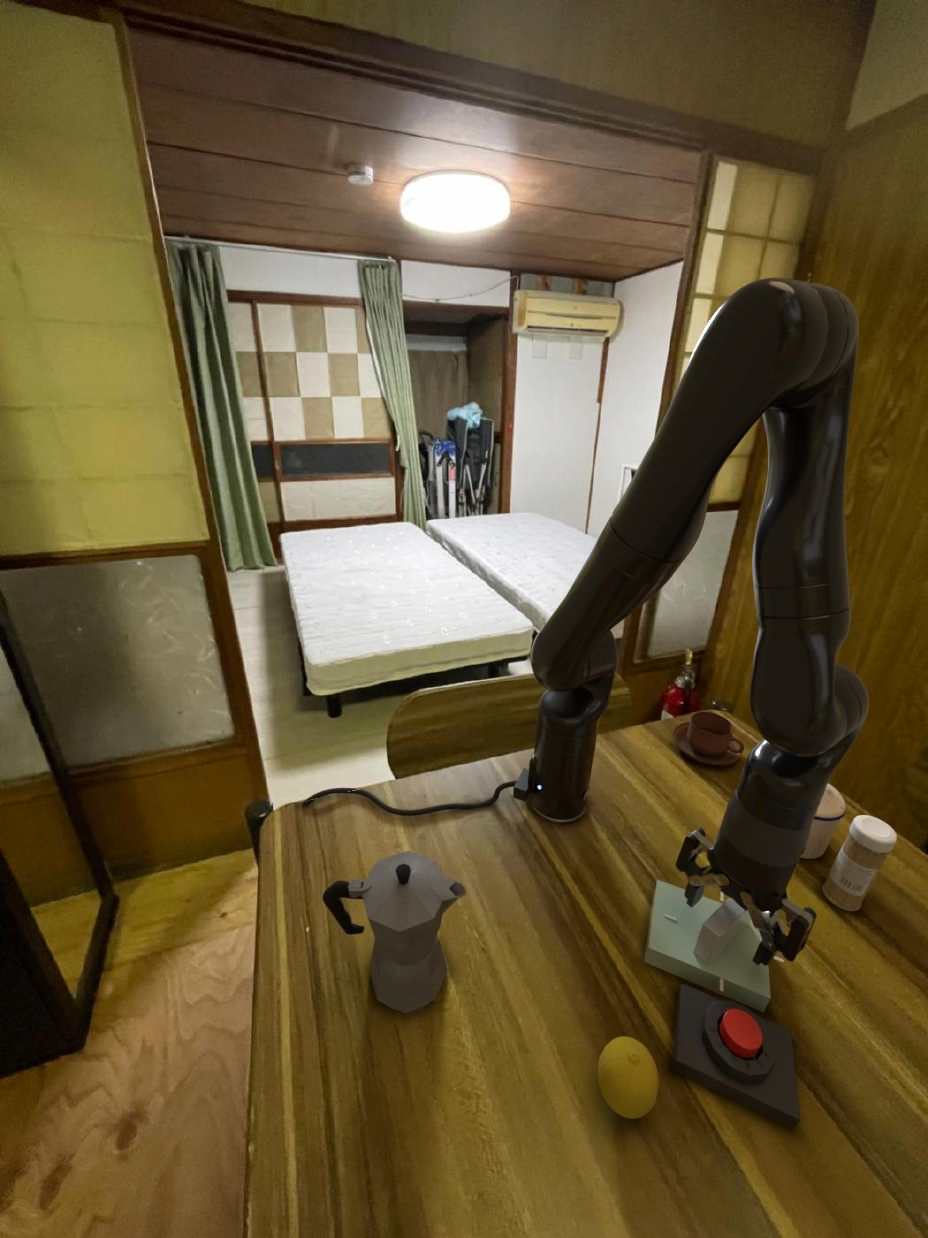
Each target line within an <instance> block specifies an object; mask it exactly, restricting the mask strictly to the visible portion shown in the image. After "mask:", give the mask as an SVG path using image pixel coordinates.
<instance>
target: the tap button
mask: <svg viewBox="0 0 928 1238" xmlns="http://www.w3.org/2000/svg"><path fill="white" fill-rule="evenodd" d="M720 1034H721V1037H722V1040H723V1042H724V1043H725V1045H726V1046H727V1047H728V1048H729V1050H731V1051H732V1052H733V1053H734V1054H736V1055H737V1056H739V1057H742V1058H752V1057H754V1056H755V1055H756V1054H757V1052H758V1050H759V1048H760V1046H761V1045H762V1041H763V1036H762V1032H761V1029H760V1027H759V1025H758V1024H757V1022H756V1021H755V1020H754V1019H753V1018H752V1017H751V1016H750V1015H749V1014H748V1013H746V1012H744V1011H742V1010H739V1009H730V1010H728V1011H727V1012H726V1013H725V1014H724V1017H723V1019H722V1021H721V1024H720Z"/></svg>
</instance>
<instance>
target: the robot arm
mask: <svg viewBox="0 0 928 1238" xmlns="http://www.w3.org/2000/svg"><path fill="white" fill-rule="evenodd" d="M859 333H860V326H859V317H858V314H857V311H856V308H855V305H854V304H853V302H852V301H851V300H850V299H849V297H848V296H847V295H846V294H844V293H843V292H841V290H839V289H837V288H835V287H832V286H830V285H825V284H822V283H817V282H813V281H812V282H811V281H805V280H800V279H793V278H786V277H785V278H784V277H766V278H765V277H764V278H761V279H757V280H754V281H751V282H749V283H746V284H745V285H743V286H742V287H740V288H739V289H737V290H736V291H735V292H734V293H732V294H731V295H729V296H728V297H727V298H726V300H725V301H724V302H723V303H721V305H720V306H719V307H718V308H717V310H716V311H715V312H714V314H713V315H712V317H711V318H710V320H709V321H708V323H707V324H706V326H705V328H704V329H703V331H702V332H701V334H700V336H699V338H698V340H697V342H696V345H695V347H694V349H693V351H692V354H691V355H690V358H689V360H688V362H687V365H686V367H685V369H684V371H683V374H682V377H681V378H680V381H679V383H678V386H677V388H676V390H675V393H674V395H673V397H672V399H671V402H670V404H669V406H668V409H667V411H666V413H665V415H664V417H663V419H662V421H661V425H660V427H659V428H658V430H657V432H656V434H655V436H654V438H653V440H652V442H651V444H650V446H649V447H648V449H647V451H646V452H645V454H644V456H643V458H642V460H641V462H640V464H639V465H638V467H637V469H636V471H635V473H634V475H633V477H632V479H631V481H630V482H629V484H628V486H627V488H626V490H625V491H624V493H623V495H622V497H621V498H620V500H619V501H618V502H617V504H616V506H615V507H614V509H613V511H612V512H611V515H610V516H609V518H608V520H607V522H606V523H605V525H604V527H603V529H602V531H601V532H600V534H599V536H598V537H597V540H596V542H595V543H594V545H593V548H592V550H591V552H590V553H589V555H588V557H587V558H586V561H585V562H584V564H583V565H582V567H581V568H580V570H579V572H578V574H577V576H576V577H575V579H574V581H573V582H572V584H571V586H570V588H569V589H568V591H567V593H566V595H565V596H564V598H563V599H562V600H561V602H560V603H559V605H557V608H556V609H555V610H554V611H553V613H552V614H551V616H550V617H549V618H548V620H547V621H546V622H545V623H544V625H543V626H542V627H541V628H540V631H539V632H538V633H537V634H536V636H535V638H534V640H533V643H532V646H531V650H530V666H531V671H532V673H533V676H534V678H535V680H536V681H537V682H538V683H539V685H541V686H542V687H543V688H545V689H546V691H545V692H544V693H543V694H542V695H541V696H540V699H539V701H538V705H537V717H536V718H537V719H536V728H535V737H534V748H533V753H532V755H531V757H530V759H529V763H528V769H527V768H525V767H523V768H522V771H521V772H520V774H519V776H518V778H517V779H516V780H512V781H507V782H502V783H501V784H500V785H498V786H497V787H496V788H495V789H494V792H493V795H492V797H490V798H488V799H486V800H483V801H481V802H475V803H462V802H461V803H460V802H458V803H456V802H455V803H444V804H443V803H442V804H438V805H432V806H428V807H424V808H416V809H401V808H395V807H393V806H390V805H388V804H386V803H385V802H384V801H381V799H380V798H378V797H377V796H376V795H374V794H373V793H371V792H369V791H367V790H365V789H362V788H359V789H360V790H356V789H358V788H357V787H356V788H355V787H334V788H327V789H324V790H321V791H318V792H316V793H313V794H312V795H310V796H309V797H308V798H306V799H305V800H304V801H303V802H302V803H301V805H302V807H307V806H309V805H310V804H312V803H313V802H314V801H316V800H317V799H315V798H318V799H321V798H323V797H326V796H330V795H336V794H352V795H359V796H363V797H365V798H367V799H369V800H370V801H371V802H373V803H374V804H375V805H377V806H378V807H379V808H381V809H382V810H383V811H385V812H387V813H389V814H392V815H396V816H402V817H403V816H404V817H413V816H422V815H427V814H432V813H437V812H442V811H449V810H476V809H483V808H486V807H490V806H491V805H493V804H494V803H496V802H497V801H498V800H499V797H500V794H501V792H502V791H503V790H505V789H508V788H513V789H512V790H513V792H512V798H513V799H516V800H518V801H522V802H525V806H526V807H529V808H531V809H532V811H533V813H535V814H536V815H537V816H538V817H540V818H541V819H543V820H545V821H546V822H550V823H553V824H559V825H565V824H567V825H568V824H572V823H574V822H578V820H580V819H581V818H582V817H583V816H584V815H585V813H586V810H587V802H588V794H589V792H591V786H592V785H590V782H591V775H592V770H593V763H594V758H595V752H596V746H597V739H598V734H599V727H600V721H601V718H602V717H603V715H604V714H605V712H606V711H607V709H608V707H609V703H610V698H611V693H612V690H613V686H614V681H615V676H616V672H617V667H618V666H617V665H618V647H617V646H618V645H617V641H616V638H615V636H614V633H613V631H612V629H613V628H615V627H616V626H617V625H619V624H620V623H621V622H622V621H624V620H625V619H626V618H628V617H629V616H631V614H633V613H635V611H637V610H638V609H639V608H641V607H642V606H643V605H645V604H646V603H647V602H648V601H649V600H651V599H652V598H653V597H654V596H655V595H656V594H657V593H658V592H659V591H660V590H661V589H662V588H664V586H666V584H667V583H668V582H669V581H670V580H671V578H672V577H673V576H674V575H675V572H677V570H678V569H679V568H680V566H681V565H682V564H683V562H684V561H685V560H686V558H687V557H688V556H689V554H690V553H691V552H692V550H693V549H694V547H695V545H696V544H697V542H698V539H699V538H700V536H701V533H702V531H703V528H704V524H705V521H706V516H707V511H708V507H709V504H710V503H709V502H710V497H711V493H712V489H713V487H714V484H715V482H716V479H717V477H718V476H719V474H720V472H721V470H722V468H723V467H724V465H725V463H726V462H727V460H728V459H729V458H730V456H731V455H732V454H733V453H734V451H735V449H736V448H737V447H738V446H739V445H740V443H741V442H742V440H743V439H744V437H745V436H746V435H747V433H748V432H749V431H750V430H751V429H752V427H753V426H754V425H755V424H756V423H757V421H759V419H760V418H761V417H762V419H763V424H764V429H765V434H766V439H767V440H766V441H767V453H768V454H767V455H768V456H767V457H768V458H767V459H768V460H767V475H766V483H765V488H764V496H763V498H762V499H763V500H762V503H761V507H760V512H759V516H758V519H757V524H756V529H755V534H754V539H753V540H754V541H753V548H752V561H751V562H752V563H751V564H752V565H751V566H752V583H753V592H754V602H755V603H754V604H755V612H756V619H757V620H756V621H757V627H758V629H757V631H758V632H757V639H756V643H755V648H754V653H753V659H752V660H753V661H752V669H751V677H750V686H749V707H750V713H751V717H752V719H753V722H754V725H755V728H756V729H757V731H758V733H759V735H761V737H762V739H761V740H760V741H759V742H758V743H757V744H755V746H753V747H752V749H751V751H750V752H749V753H748V754H747V757H746V759H745V761H744V764H743V766H742V770H741V772H740V776H739V777H738V782H737V784H736V787H735V790H734V791H733V793H732V795H731V797H730V798H729V801H728V802H727V805H726V808H725V811H724V815H723V817H722V821H721V824H720V827H719V829H718V833H717V836H716V839H715V842H714V843H713V842H711V840H709V839H707V838H706V836H707V833H706V830H704V828H702V827H700V826H698V827H696V828H695V829H694V830H693V831H691V832H690V833H689V834H687V835H686V836H684V839H683V843H682V846H681V848H680V850H679V853H678V856H677V859H676V861H675V867H676V869H677V870H678V871H679V872H681V873H684V874H685V875H686V876H687V884H686V887H685V889H684V890H685V893H684V894H685V897H686V898H687V902H686V903H687V904H688V905H689V906H690V907H691V908H692V907H693V906H694V905H696V904H697V903H698V902H699V901H700V899H701V897H702V896H703V894H704V891H705V888H707V887H715V886H718V887H719V888H720V889H719V890H720V892H723V893H724V895H725V896H727V897H728V898H732V899H733V900H734V901H735V902H736V903H737V904H738V905H739V906H740V907H742V908H743V909H744V910H745V911H747V910H748V912H749V915H750V917H751V920H752V923H753V925H754V927H755V928H756V929H758V930H759V932H760V935H761V937H762V941H761V942H760V944H759V946H758V948H757V950H756V953H755V955H754V957H753V960H752V961H753V962H754V963H755V964H757V965H758V966H759V965H760V964H761V963H762V964H763V965H764V966H766V965H768V966H769V964H770V963H772V961H773V960H774V959H773V958H774V957H775V956H776V955H777V953H778V952H780V953H781V955H782V956H783V958H784V959H785V960H787V961H789V962H794V961H795V960H796V959H797V956H798V955H799V954H800V952H802V951H803V950H804V949H805V947H806V946H807V945H806V944H807V942H808V939H809V938H810V935H811V932H812V929H813V927H814V925H815V922H816V919H817V917H818V915H817V913H816V911H815V910H814V909H813V908H811V907H808V906H804V908H803V909H802V908H801V907H800V906H798V905H797V904H796V903H793V902H792V901H791V900H789V897H788V893H787V888H788V886H789V883H790V881H791V879H792V877H793V874H794V872H795V870H796V867H797V865H798V863H799V861H800V859H801V858H800V856H801V855H802V854H803V853H804V851H805V848H806V843H807V840H808V837H809V834H810V828H811V824H812V821H813V819H814V817H815V814H816V812H817V810H818V808H819V805H820V803H821V801H822V798H823V795H824V792H825V789H826V786H827V784H829V782H830V780H831V778H832V776H833V774H834V772H835V771H836V770H837V768H838V767H839V765H840V764H841V762H842V761H843V760H844V758H845V756H846V755H847V754H848V752H849V751H850V748H851V747H852V746H853V744H854V742H855V741H856V739H857V738H858V735H859V733H860V732H861V731H862V729H863V727H864V724H865V722H866V719H867V717H868V713H869V708H870V700H869V699H870V697H869V693H868V690H867V688H866V686H865V684H864V682H863V680H862V679H861V678H860V677H859V676H858V674H856V672H854V671H853V670H852V669H850V668H849V667H848V666H845V665H842V664H840V663H838V662H836V659H837V654H838V651H839V650H840V647H841V646H842V644H843V643H844V641H845V640H846V639H847V637H848V635H849V633H850V630H851V623H852V622H851V621H852V612H851V611H852V610H851V598H850V597H851V596H850V595H851V594H850V583H849V569H848V557H847V555H848V554H847V540H846V538H847V537H846V515H845V514H846V469H847V456H848V455H847V454H848V453H847V452H848V443H849V441H848V440H849V428H850V413H851V405H852V399H853V398H852V397H853V391H854V383H855V378H856V377H855V375H856V368H857V359H858V351H859V349H858V348H859ZM352 790H356V791H352ZM348 791H350V792H348ZM311 799H315V800H311ZM308 800H309V801H308ZM306 801H307V802H306ZM702 853H706V858H707V861H708V863H709V864H708V865H702V866H701V865H700V866H699V864H698V863H697V862H696V861H697V858H698V856H699V855H701V854H702ZM780 910H781V911H782V912H783V913H784V914H785V921H786V924H785V925H786V927H788V928H789V931H788V934H786V932H785V929H784V927H783V924H782V922H781V915H782V914H781V911H780Z"/></svg>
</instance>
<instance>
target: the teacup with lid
mask: <svg viewBox="0 0 928 1238" xmlns="http://www.w3.org/2000/svg"><path fill="white" fill-rule="evenodd" d="M846 805H847V804H846V801H845V799H844V797H843V795H842V794H841V793H840V792H839V790H837V789H836V787H834V786H833V785H831V784H830V783H828V784H827V786H826V789H825V792H824V795H823V798H822V801H821V803H820V805H819V808H818V810H817V812H816V814H815V817H814V819H813V821H812V824H811V828H810V834H809V837H808V840H807V843H806V848H805V851H804V853H803V854H802V855H801V856H800V859H805V860H811V859H812V860H813V859H817V858H820V857H822V856H823V855H824V854H825V852H826V850H827V848H828V846H829V844H830V842H831V840H832V837H833V835H834V834H835V831H836V829H837V828H838V825H839V822H840V820H841V819H842V818H844V816H845V815H846V813H847V806H846Z"/></svg>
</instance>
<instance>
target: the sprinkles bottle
mask: <svg viewBox="0 0 928 1238" xmlns="http://www.w3.org/2000/svg"><path fill="white" fill-rule="evenodd" d="M897 841H898V835H897V832H896V831H895V829H894V828H892V826H891V825H889V824H888V823H886V822H885V821H883V820H881V819H880V818H877V817H875V816H872V815H867V814H860V815H857V816H854V818H853V820H852V822H851V823H850V825H849V830H848V834H847V836H846V837H845V841H844V842H843V844H842V845H841V847H840V849H839V852H838V854H837V856H836V858H835V860H834V861H833V864H832V866H831V867H830V870H829V873H828V875H827V878H826V879H825V881H824V883H822V885H821V890H822V893H823V895H824V896H825V898H826V899H827V901H829V902H830V903H831V904H832V905H834V906H835V907H837V908H839V909H841V910H843V911H847V912H856V911H859V910H860V909H861V907H862V904H863V903H862V902H863V901H864V899H865V897H866V895H867V894H868V893H869V891H870V890H871V888H872V886H873V884H874V882H875V881H876V879H877V875H878V874H879V872H880V869H881V867H882V866H883V864H884V862H885V860H886V858H887V856H888V854H889V853H891V852H892V851H893V849H894V848H895V846H896V844H897Z"/></svg>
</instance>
